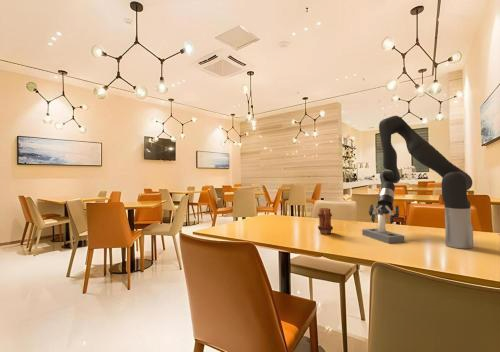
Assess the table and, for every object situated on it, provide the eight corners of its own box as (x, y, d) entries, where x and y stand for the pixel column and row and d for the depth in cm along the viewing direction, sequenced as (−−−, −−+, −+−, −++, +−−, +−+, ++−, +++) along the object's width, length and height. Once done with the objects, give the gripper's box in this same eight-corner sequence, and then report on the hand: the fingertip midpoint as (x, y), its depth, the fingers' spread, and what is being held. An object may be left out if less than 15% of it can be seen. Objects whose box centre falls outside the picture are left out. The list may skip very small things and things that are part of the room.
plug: (382, 237, 142) (381, 208, 142) (387, 238, 138) (386, 209, 138) (377, 237, 141) (376, 209, 141) (381, 239, 138) (380, 209, 138)
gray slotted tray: (376, 233, 150) (376, 228, 150) (404, 241, 131) (404, 235, 131) (362, 234, 148) (362, 229, 148) (388, 243, 129) (388, 237, 129)
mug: (317, 231, 160) (316, 206, 160) (331, 231, 159) (330, 206, 159) (320, 237, 146) (319, 209, 146) (335, 237, 144) (335, 209, 145)
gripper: (371, 193, 152) (366, 216, 143) (399, 194, 143) (396, 218, 134) (373, 202, 156) (369, 225, 147) (401, 203, 147) (398, 227, 138)
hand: (382, 222), depth 141 cm, fingers open, 8 cm apart
